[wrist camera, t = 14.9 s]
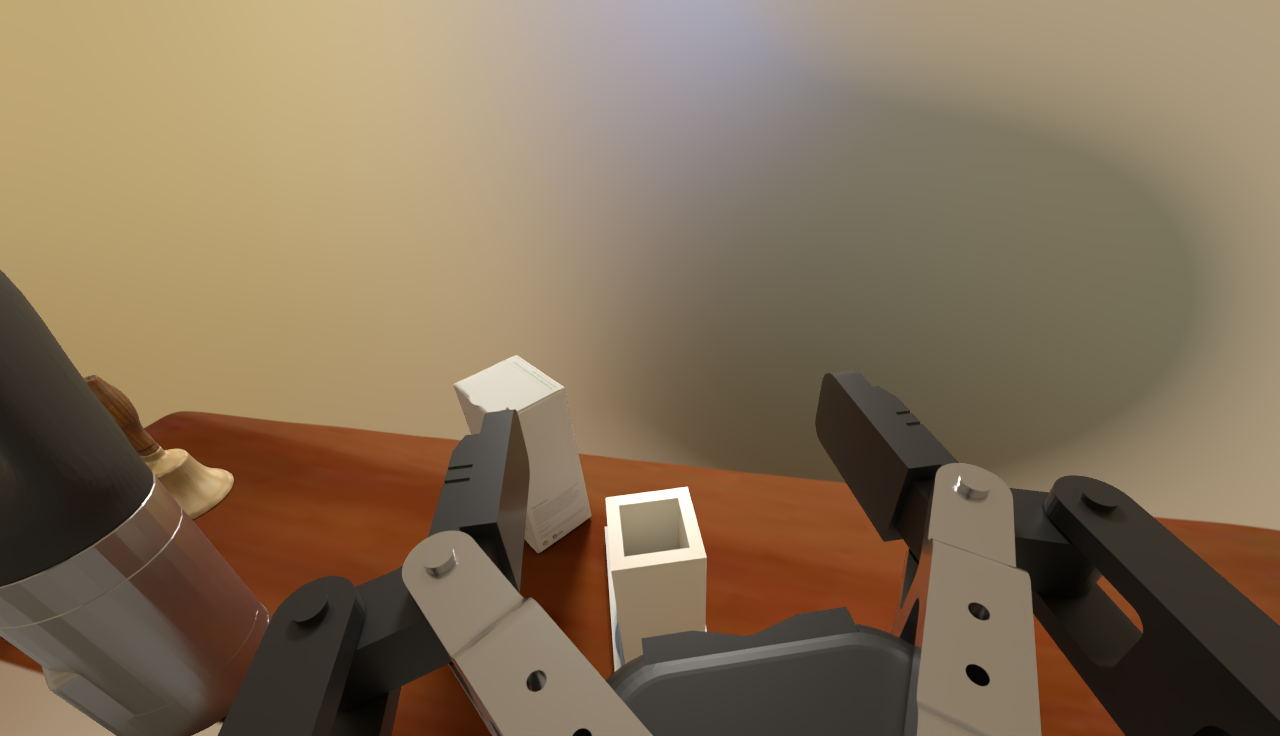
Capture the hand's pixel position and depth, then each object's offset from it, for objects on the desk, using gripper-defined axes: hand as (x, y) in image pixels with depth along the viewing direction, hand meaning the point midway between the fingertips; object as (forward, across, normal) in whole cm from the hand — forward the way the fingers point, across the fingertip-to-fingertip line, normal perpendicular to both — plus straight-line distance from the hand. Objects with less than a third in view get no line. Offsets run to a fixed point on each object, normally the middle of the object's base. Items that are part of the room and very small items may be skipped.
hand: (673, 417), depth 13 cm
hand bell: (+33, +48, +30) cm, 66 cm away
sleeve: (+10, 0, +28) cm, 30 cm away
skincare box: (+24, +9, +30) cm, 40 cm away
